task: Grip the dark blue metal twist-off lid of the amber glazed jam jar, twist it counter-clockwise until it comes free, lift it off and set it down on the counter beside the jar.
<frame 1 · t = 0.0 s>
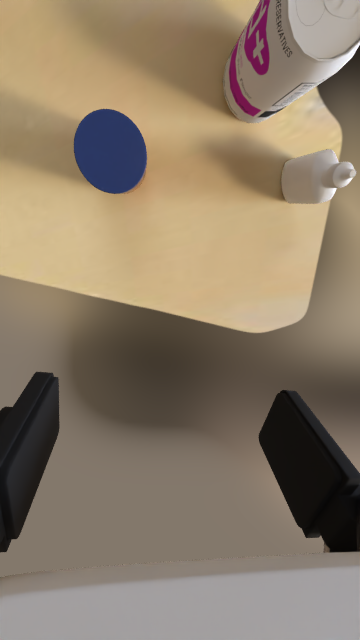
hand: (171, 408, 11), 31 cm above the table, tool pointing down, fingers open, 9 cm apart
lid: (111, 154, 24), point 10 cm above the table, screwed on, not yet turned
eye dropper bottle: (291, 181, 36), on the table
supplement can: (253, 84, 31), on the table
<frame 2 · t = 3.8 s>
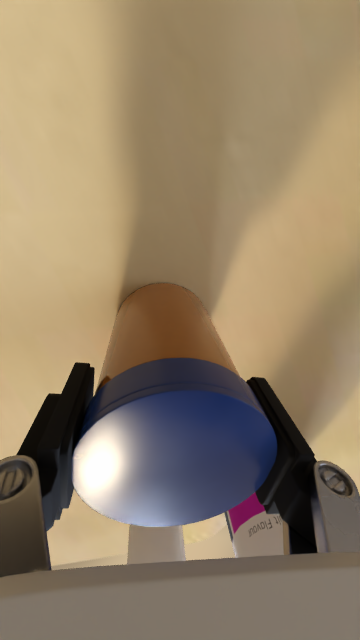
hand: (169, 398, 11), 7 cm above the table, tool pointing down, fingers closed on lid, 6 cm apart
lid: (177, 461, 8), point 10 cm above the table, screwed on, not yet turned, touching gripper
jar: (162, 326, 17), on the table
eye dropper bottle: (155, 517, 28), on the table
supplement can: (254, 466, 26), on the table
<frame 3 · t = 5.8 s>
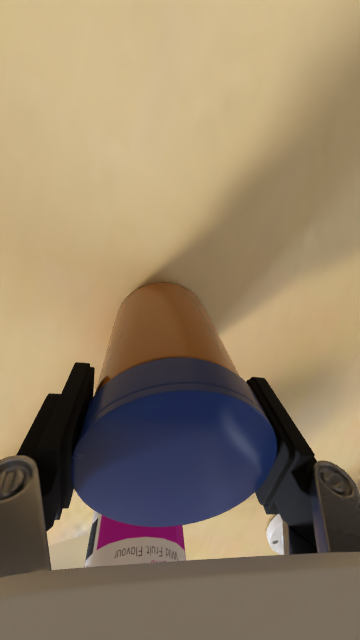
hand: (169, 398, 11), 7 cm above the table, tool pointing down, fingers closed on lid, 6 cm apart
lid: (177, 461, 8), point 10 cm above the table, turned 37° so far, risen 0.1 cm, still on its thread, touching gripper
jar: (162, 326, 17), on the table
supplement can: (138, 491, 26), on the table
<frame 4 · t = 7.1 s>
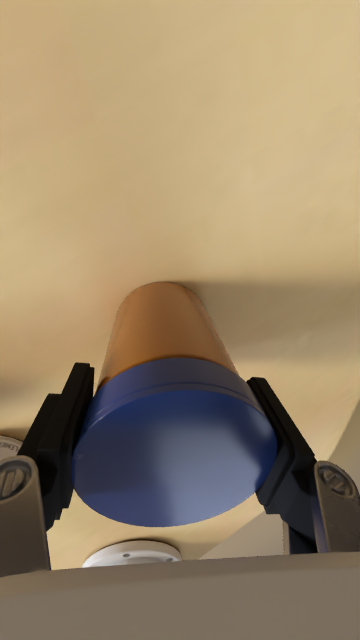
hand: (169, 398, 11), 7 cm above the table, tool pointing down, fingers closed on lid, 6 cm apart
lid: (177, 462, 8), point 10 cm above the table, turned 77° so far, risen 0.2 cm, still on its thread, touching gripper
jar: (162, 325, 18), on the table
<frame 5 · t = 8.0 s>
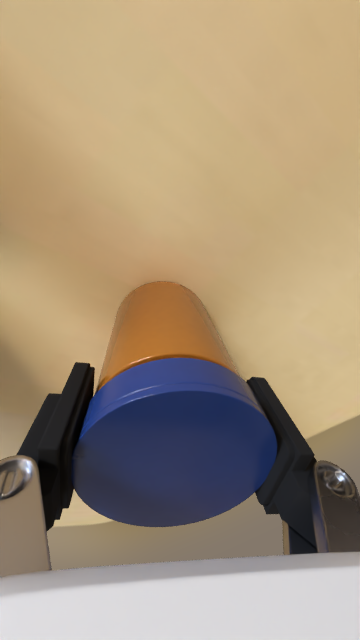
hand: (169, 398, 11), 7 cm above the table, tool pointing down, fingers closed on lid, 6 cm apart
lid: (177, 461, 8), point 10 cm above the table, off its thread, touching gripper
jar: (162, 324, 18), on the table
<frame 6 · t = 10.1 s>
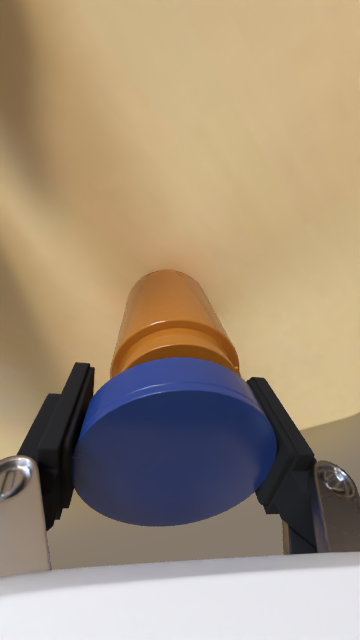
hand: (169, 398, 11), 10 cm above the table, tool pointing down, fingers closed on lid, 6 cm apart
lid: (176, 461, 8), point 13 cm above the table, off its thread, touching gripper
jar: (167, 309, 20), on the table
when the fingers open (0 cm above the table, at t = 16.5 s): lid drops 2 cm, point 1 cm above the table.
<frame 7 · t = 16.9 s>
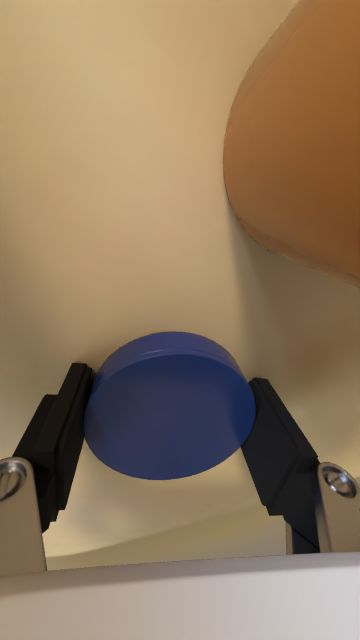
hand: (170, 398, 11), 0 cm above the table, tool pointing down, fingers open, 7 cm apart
lid: (172, 420, 10), point 1 cm above the table, off its thread
jar: (324, 152, 8), on the table
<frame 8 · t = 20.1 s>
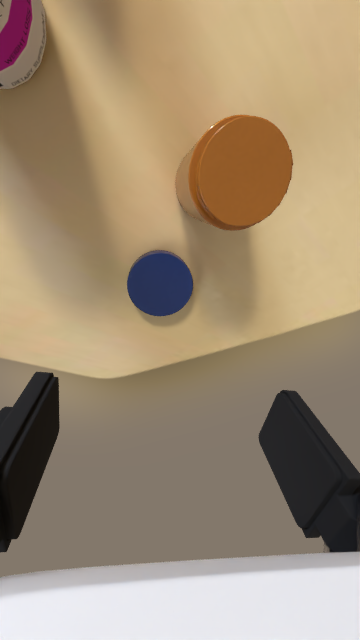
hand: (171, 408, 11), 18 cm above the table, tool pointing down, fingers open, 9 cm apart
lid: (160, 285, 26), point 1 cm above the table, off its thread
jar: (209, 184, 23), on the table
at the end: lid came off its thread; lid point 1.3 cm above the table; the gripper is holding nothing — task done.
